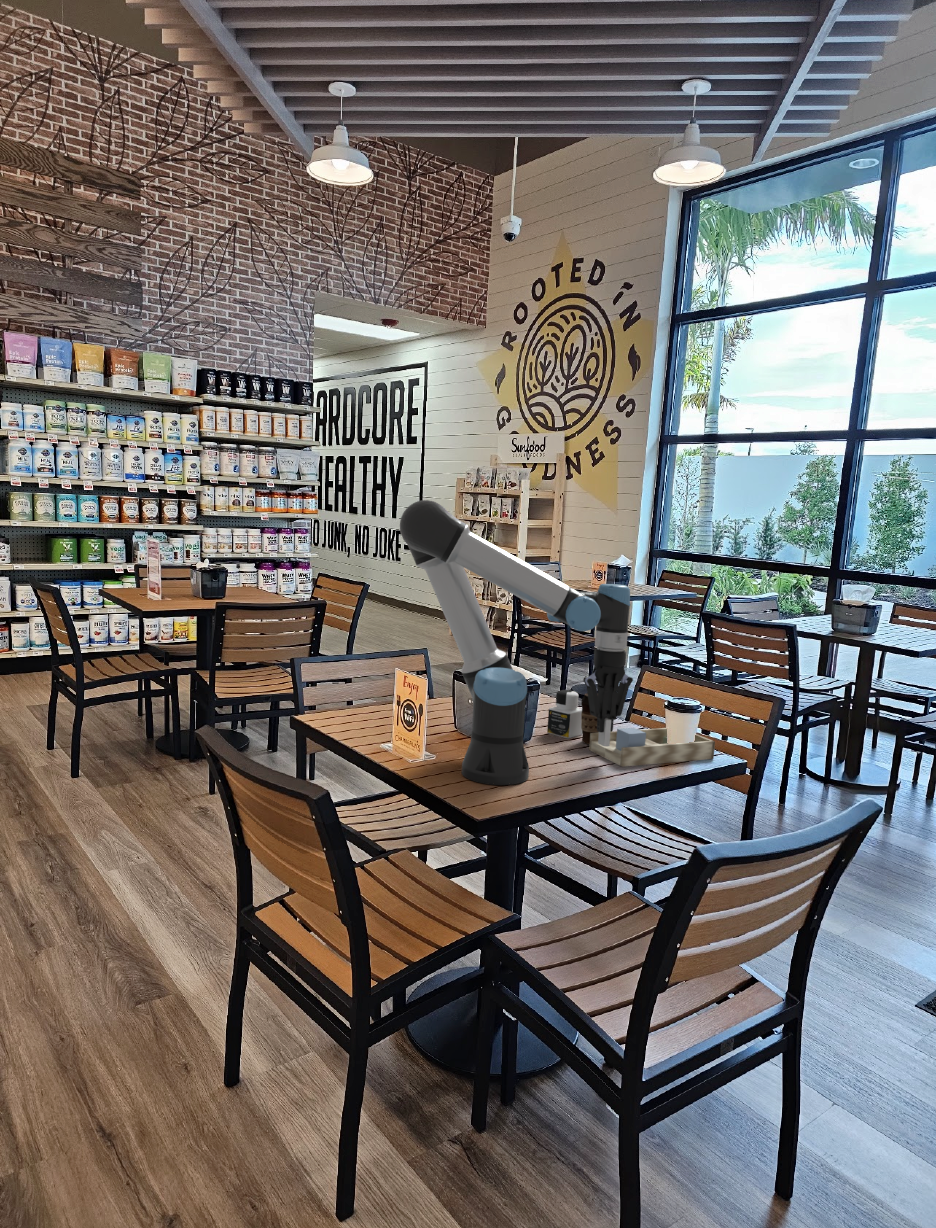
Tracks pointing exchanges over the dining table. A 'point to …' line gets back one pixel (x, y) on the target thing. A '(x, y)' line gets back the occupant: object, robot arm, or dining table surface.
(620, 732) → the slate block
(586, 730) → the coffee cup
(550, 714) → the medicine bottle
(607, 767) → the dining table surface
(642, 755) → the serving tray
